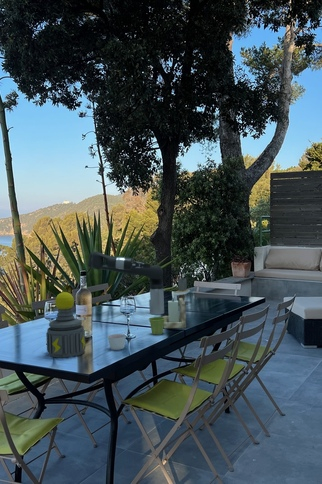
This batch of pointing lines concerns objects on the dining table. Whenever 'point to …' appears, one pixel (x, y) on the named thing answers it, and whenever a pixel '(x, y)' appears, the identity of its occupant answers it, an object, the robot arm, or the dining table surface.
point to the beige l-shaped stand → (181, 317)
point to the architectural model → (181, 289)
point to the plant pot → (157, 325)
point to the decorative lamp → (65, 330)
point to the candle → (116, 341)
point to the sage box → (173, 311)
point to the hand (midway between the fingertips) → (150, 266)
